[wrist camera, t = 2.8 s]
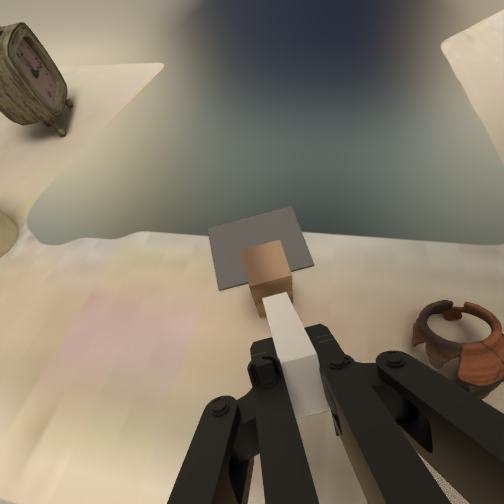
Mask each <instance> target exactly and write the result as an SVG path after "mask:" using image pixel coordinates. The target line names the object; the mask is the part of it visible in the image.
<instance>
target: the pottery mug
mask: <svg viewBox="0 0 504 504" xmlns="http://www.w3.org/2000/svg"><path fill="white" fill-rule="evenodd" d="M452 306H453V302H451V301H449V300H442V301H437V302H434V303H431V304H429V305H427V306H426V307H425V308H424V309H423V311H421V313H420V315H419V318H418V319H417V320H416V322H415V323H414V326H413V339H412V346H413V347H414V346H416V345H418V344H421V343H424V342H426V347H425V348H426V353H427V355H428V356H429V362H430V363H431V364H432V365H433V366H434V367H435V368H437V369H441V368H442V366H443V363H446V362H448V361H450V360H451V359H453V358H456V357H459V358H460V361H459V369H458V371H457V375H458V377H459V378H460V379H461V380H462V381H464V382H467V383H468V390H466V391H468V392H469V393H471V394H473V395H474V396H476V397H477V398H479V399H483V398H485V397H486V396H487V395H489V393H490V392H491V391H492V390H493V389H495V388H496V387H498V386H499V384H501V383H502V382H503V381H504V334H503V333H502V326H501V323H500V322H499V320H498V319H497V318H496V317H495V316H494V315H493V314H492V313H491V312H489V311H488V310H486V309H484V308H483V307H481V306H479V305H476V304H473V303H470V302H465V304H464V307H452ZM462 312H464V313H468V314H471V315H474V316H477V317H478V318H481V319H482V320H484V321H486V322H487V323H488V324H489V325H490V327H491V329H492V331H491V334H490V336H489V337H487V338H486V339H485V340H482V341H480V342H476V343H462V344H460V343H456V342H452V341H448V340H446V339H443V338H441V337H440V336H438V335H436V334H435V333H434V332H433V331H431V330H430V328H429V327H428V324H427V319H428V317H430V316H431V315H432V314H443V316H444V317H445V319H447V320H457V319H461V318H462V314H461V313H462Z"/></svg>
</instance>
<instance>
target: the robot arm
mask: <svg viewBox="0 0 504 504" xmlns="http://www.w3.org/2000/svg"><path fill="white" fill-rule="evenodd" d="M262 300H263V304H264V308H265V311H266V315H267V319H268V323H269V327H270V330H271V334H272V337H271V338H267V339H263V340H259V341H256V342H253V344H252V346H251V348H250V352H251V360H252V361H251V362H250V363H249V364H248V368H247V369H248V373H249V376H250V380H251V383H252V389H251V390H250V391H249V392H248V393H247V394H246V395H245V396H243V397H242V398H240V399H238V400H235V398H233V397H231V396H220V397H217V398H215V399H214V400H212V401H211V402H210V403H209V404H207V406H206V407H205V409H204V411H203V414H202V416H201V419H200V421H199V424H198V426H197V429H196V431H195V434H194V436H193V439H192V441H191V444H190V447H189V449H188V452H187V454H186V457H185V459H184V462H183V464H182V467H181V469H180V472H179V474H178V477H177V479H176V482H175V484H174V487H173V490H172V492H171V495H170V497H169V500H168V502H167V504H247V503H248V496H249V490H250V484H251V478H252V472H253V465H254V456H256V455H257V454H259V453H260V459H261V468H262V477H263V486H264V495H265V504H319V501H318V497H317V494H316V490H315V486H314V483H313V479H312V476H311V472H310V468H309V465H308V461H307V458H306V454H305V450H304V447H303V443H302V439H301V436H300V432H299V429H298V425H297V421H296V419H300V418H303V417H307V416H311V415H315V414H318V413H322V412H326V411H329V407H330V409H331V413H332V417H333V422H334V426H335V431H336V435H337V436H339V435H340V438H341V440H342V443H343V445H344V447H345V450H346V452H347V454H348V457H349V459H350V461H351V464H352V466H353V469H354V471H355V473H356V476H357V478H358V480H359V483H360V485H361V488H362V490H363V492H364V495H365V497H366V499H367V502H368V504H451V503H450V501H449V500H448V498H447V497H446V495H445V494H444V492H443V491H442V489H441V488H440V486H439V485H438V483H437V482H436V480H435V479H434V478H433V476H432V475H431V473H430V472H429V470H428V469H427V467H426V466H425V464H424V463H423V461H422V460H421V458H420V457H419V455H418V454H417V452H418V453H419V454H420V455H421V456H422V457H423V458H424V459H425V460H426V461H427V462H428V463H429V464H430V465H431V466H432V467H433V468H434V469H435V470H436V471H437V472H438V473H439V474H440V475H441V476H442V477H443V478H444V479H445V480H446V481H447V482H448V483H449V484H450V485H452V486H453V487H454V488H455V489H456V490H457V491H458V492H459V493H460V494H461V495H462V496H463V497H464V498H465V499H466V500H467V501H468V502H469V503H470V504H504V414H503V413H501V412H500V411H498V410H497V409H495V408H493V407H492V406H490V405H489V404H487V403H485V402H484V401H482V400H481V399H479V398H477V397H476V396H474V395H473V394H471V393H469V392H468V391H466V390H465V389H463V388H461V387H460V386H458V385H457V384H455V383H453V382H452V381H450V380H449V379H447V378H445V377H444V376H442V375H441V374H439V373H437V372H436V371H434V370H433V369H431V368H429V367H428V366H426V365H425V364H423V363H421V362H420V361H418V360H417V359H415V358H413V357H412V356H410V355H409V354H406V353H404V352H401V351H386V352H383V353H381V354H380V355H378V356H377V358H376V363H359V362H355V361H354V359H353V358H351V357H350V356H348V355H346V354H344V352H343V351H342V349H341V348H340V346H339V344H338V343H337V341H336V340H335V339H334V337H333V335H332V334H331V332H330V331H329V329H328V328H327V327H326V326H324V325H322V324H317V325H313V326H310V327H306V328H304V327H303V325H302V323H301V321H300V319H299V317H298V315H297V313H296V311H295V309H294V307H293V305H292V303H291V301H290V299H289V296H288V294H287V292H284V293H280V294H276V295H273V296H269V297H265V298H262ZM328 404H329V406H328ZM415 450H416V451H417V452H416V451H415Z"/></svg>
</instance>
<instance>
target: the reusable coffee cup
mask: <svg viewBox="0 0 504 504" xmlns="http://www.w3.org/2000/svg"><path fill="white" fill-rule="evenodd" d="M17 237H18V227H17V225H16V224H15V223H14V222H13V221H12V220H11V219H10V218H9V217H8V216H7V215H6V214H4V213H3V212H2V211H1V210H0V257H1V256H2V255H4V254H5V253H6V252H7V251H8V250H9V249H10V248H11V247H12V246H13V245H14V243H15V241H16V239H17Z"/></svg>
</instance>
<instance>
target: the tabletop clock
mask: <svg viewBox="0 0 504 504" xmlns="http://www.w3.org/2000/svg"><path fill="white" fill-rule="evenodd" d="M66 98H67V85H66V83H65V81H64V79H63V77H62V75H61V73H60V71H59V70H58V68H57V67H56V65H55V63H54V62H53V60H52V59H51V57H50V56H49V54H48V53H47V51H46V50H45V48H44V47H43V46H42V44H41V43H40V41H39V40H38V38H37V37H36V36H35V35H34V33H33V32H32V31H31V29H30V28H29V27H28V26H27V25H26V24H25V23H16V24H12V25H8V26H3V27H1V26H0V111H1V112H2V113H3V114H4V115H5V116H6V117H7V118H8V119H10V120H11V121H13V122H15V123H18V124H21V125H29V124H33V123H38V122H42V124H43V125H45V126H48V125H49V124H51V125H52V126H54V127H55V128H56V129H57V134H58V135H60V136H64V135H65V130H64V129H62V128H59V127H58V126H57V125H56V124H55V123H54V121H53V120H52V119H56V118H58V117H60V116H61V114H62V112H63V110H64V107H65V104H66V105H67V106H68V107H71V106H72V105H73V103H72V101H71V100H70V99H66Z"/></svg>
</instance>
